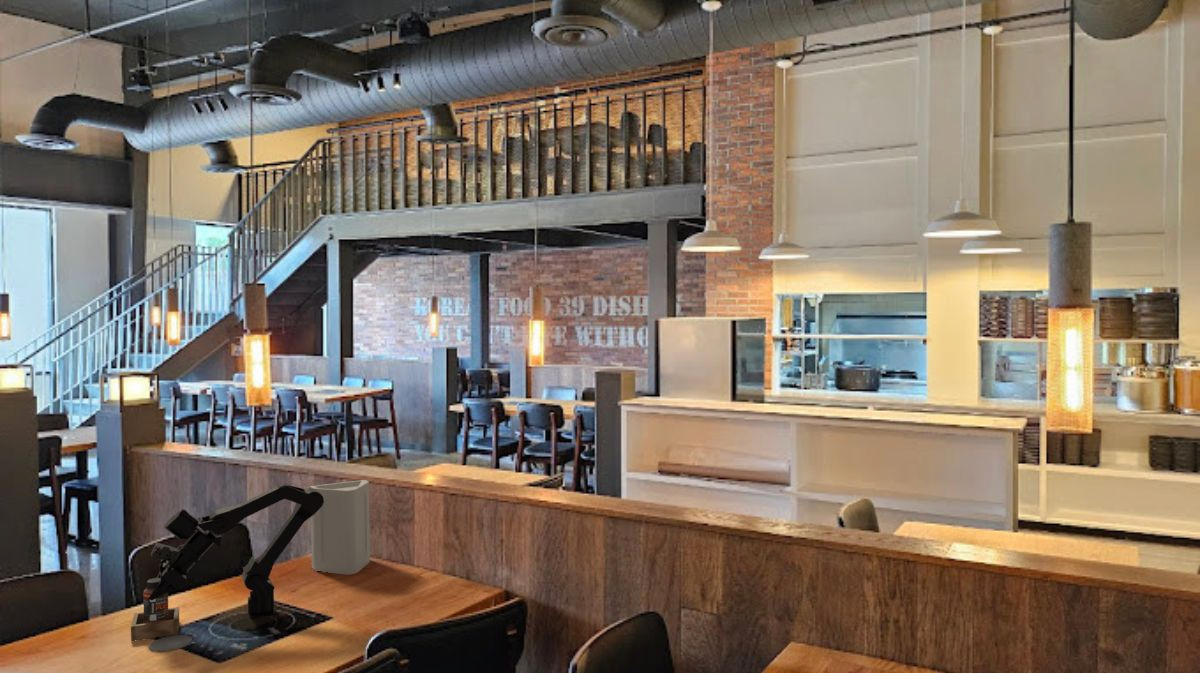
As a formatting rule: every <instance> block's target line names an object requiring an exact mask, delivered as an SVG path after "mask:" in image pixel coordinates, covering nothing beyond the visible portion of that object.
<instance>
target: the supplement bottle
mask: <svg viewBox="0 0 1200 673" xmlns="http://www.w3.org/2000/svg"><path fill="white" fill-rule="evenodd" d="M160 580H161V578H157V577H154V578H150V579H148V580H147V581H146V582H147V584H146V588H145V589H144V590H143V593H142V596H143V598H142V599H143V612H144V622H145V623H152V622H158V621H165V620H167V619H168V610H169V592H168V593H166V594H164V595H162V596H160V597H158V598H156V599H154V600H150V599H149V596H150V595H151V593H152V592H153V591H154V589H155V588H156V586H157V585H158V583H159V582H160Z"/></svg>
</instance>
